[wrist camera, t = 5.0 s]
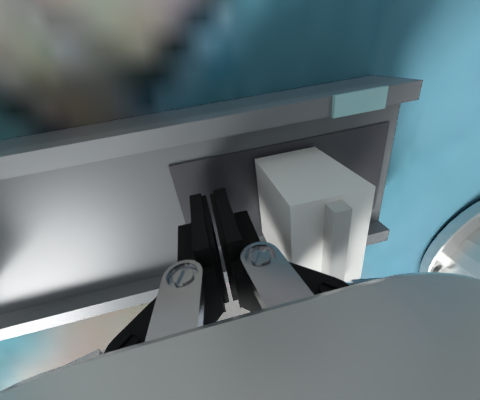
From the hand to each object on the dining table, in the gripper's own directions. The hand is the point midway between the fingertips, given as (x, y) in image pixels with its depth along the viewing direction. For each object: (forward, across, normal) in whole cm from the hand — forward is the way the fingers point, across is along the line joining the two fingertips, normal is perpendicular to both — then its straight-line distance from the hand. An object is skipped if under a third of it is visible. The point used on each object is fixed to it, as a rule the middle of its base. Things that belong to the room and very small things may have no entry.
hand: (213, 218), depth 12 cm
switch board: (+3, +6, 0) cm, 7 cm away
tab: (+1, -4, 0) cm, 4 cm away
